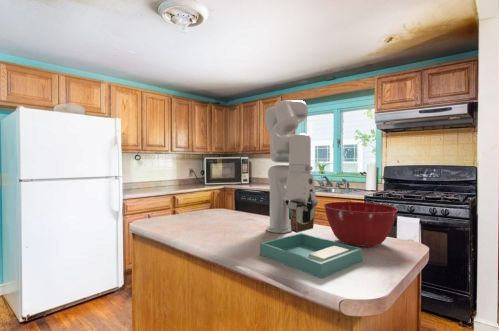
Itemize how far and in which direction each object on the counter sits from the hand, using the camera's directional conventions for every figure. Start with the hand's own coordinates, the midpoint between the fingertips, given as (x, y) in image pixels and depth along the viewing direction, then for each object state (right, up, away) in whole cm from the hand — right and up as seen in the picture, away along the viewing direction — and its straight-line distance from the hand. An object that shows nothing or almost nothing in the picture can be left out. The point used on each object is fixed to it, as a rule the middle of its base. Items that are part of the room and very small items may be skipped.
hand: (299, 220), depth 100 cm
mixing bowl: (+28, -13, +17) cm, 35 cm away
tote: (+3, -13, -3) cm, 14 cm away
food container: (0, -3, 0) cm, 3 cm away
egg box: (+8, -12, -9) cm, 17 cm away
